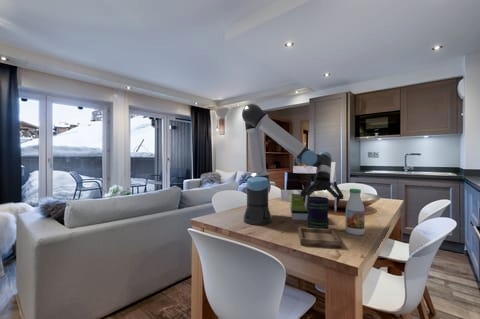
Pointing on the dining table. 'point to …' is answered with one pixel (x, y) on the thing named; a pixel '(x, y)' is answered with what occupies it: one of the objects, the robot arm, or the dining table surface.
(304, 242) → the tray
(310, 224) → the storage jar
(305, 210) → the tea box
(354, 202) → the milk bottle
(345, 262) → the dining table surface
